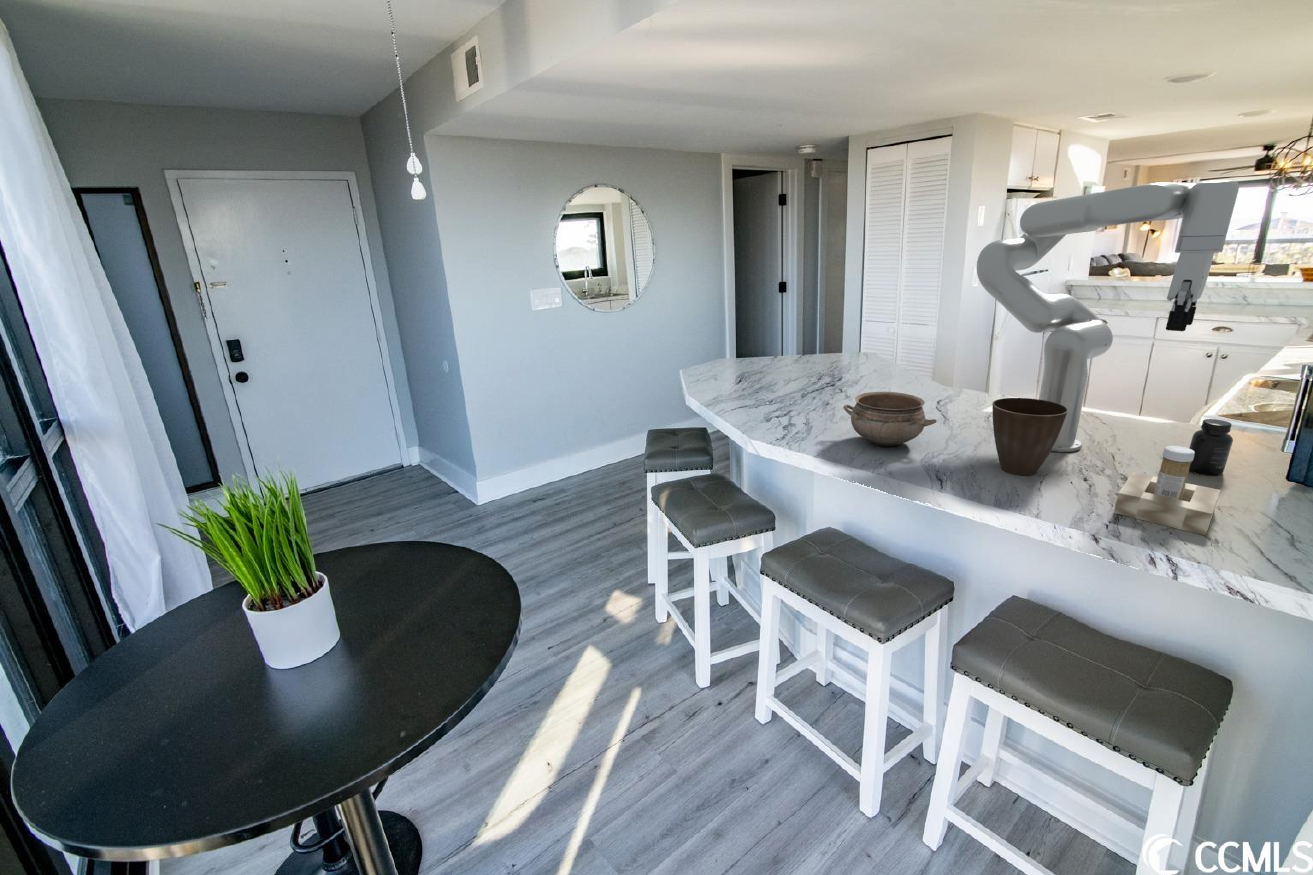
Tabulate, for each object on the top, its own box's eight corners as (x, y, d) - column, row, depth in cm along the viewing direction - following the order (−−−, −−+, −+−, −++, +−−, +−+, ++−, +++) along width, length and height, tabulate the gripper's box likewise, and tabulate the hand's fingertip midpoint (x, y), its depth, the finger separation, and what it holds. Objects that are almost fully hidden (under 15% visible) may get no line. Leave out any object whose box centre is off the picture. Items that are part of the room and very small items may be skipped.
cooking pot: (944, 442, 162) (949, 399, 158) (919, 463, 148) (925, 416, 144) (856, 425, 178) (859, 386, 174) (827, 443, 164) (829, 401, 160)
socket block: (1113, 512, 120) (1118, 492, 119) (1128, 491, 129) (1132, 472, 128) (1205, 535, 110) (1212, 513, 109) (1214, 510, 119) (1220, 490, 118)
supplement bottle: (1175, 466, 141) (1188, 418, 137) (1202, 464, 141) (1216, 416, 137) (1203, 477, 134) (1218, 427, 130) (1231, 475, 135) (1246, 425, 131)
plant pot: (971, 468, 144) (980, 405, 139) (1000, 453, 152) (1010, 393, 147) (1037, 487, 132) (1050, 419, 127) (1066, 470, 141) (1079, 406, 135)
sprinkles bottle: (1181, 511, 119) (1199, 449, 115) (1172, 518, 117) (1190, 454, 113) (1153, 504, 123) (1169, 443, 119) (1144, 510, 121) (1160, 448, 116)
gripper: (1182, 243, 131) (1163, 321, 137) (1169, 247, 120) (1149, 331, 126) (1228, 243, 126) (1206, 323, 132) (1219, 247, 115) (1196, 334, 121)
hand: (1178, 327), depth 129 cm, fingers open, 9 cm apart
